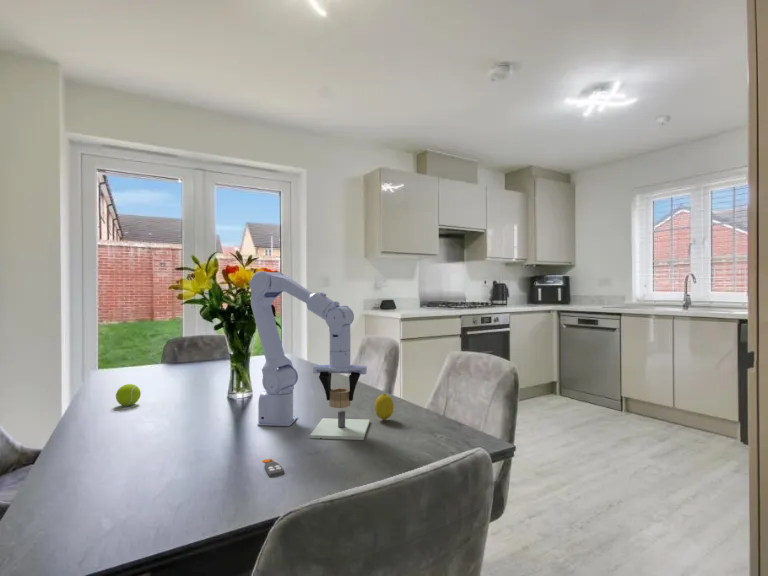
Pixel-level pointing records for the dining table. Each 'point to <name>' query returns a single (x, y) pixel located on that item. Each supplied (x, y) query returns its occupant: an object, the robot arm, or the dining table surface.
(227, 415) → the dining table surface
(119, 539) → the dining table surface
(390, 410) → the lemon
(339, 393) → the bead
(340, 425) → the white board with peg
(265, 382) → the robot arm
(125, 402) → the tennis ball
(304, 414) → the dining table surface
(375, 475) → the dining table surface
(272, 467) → the key chain
